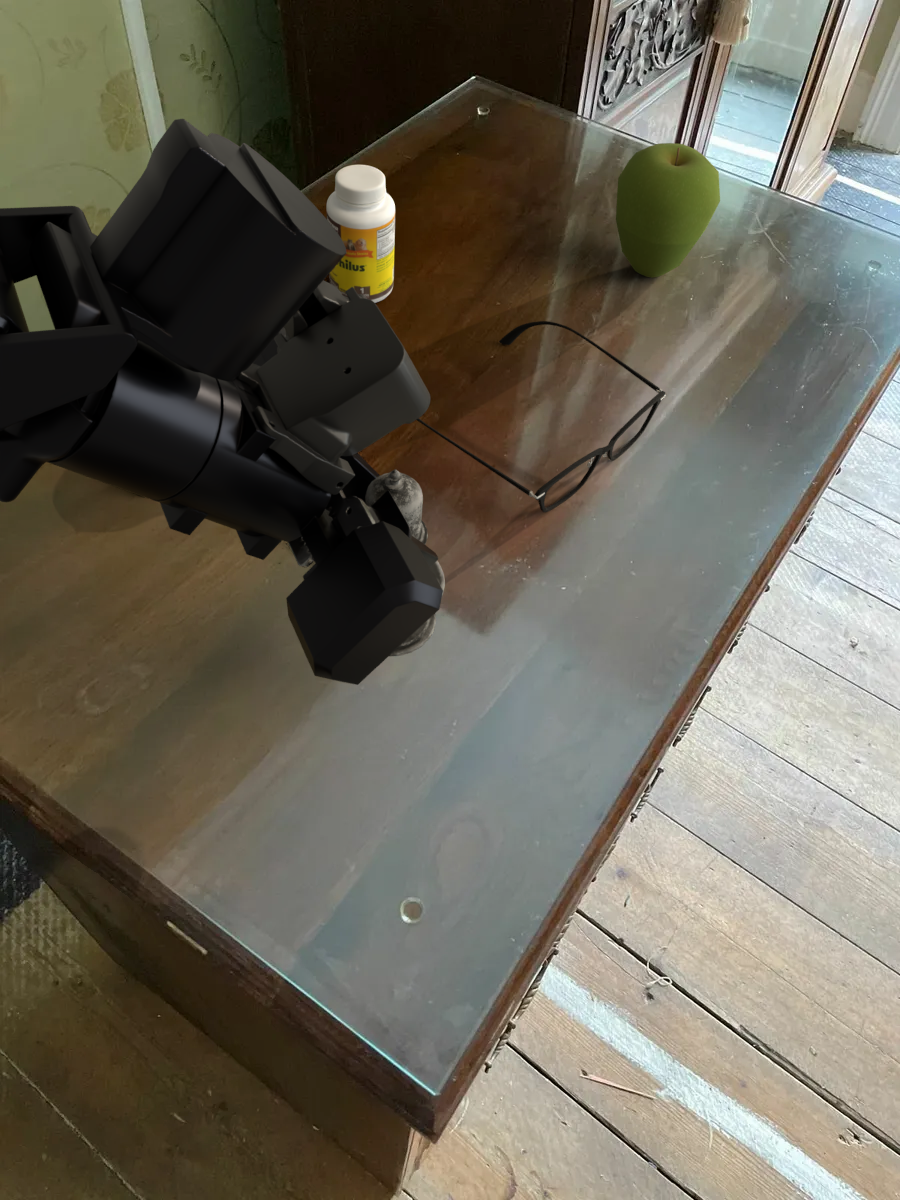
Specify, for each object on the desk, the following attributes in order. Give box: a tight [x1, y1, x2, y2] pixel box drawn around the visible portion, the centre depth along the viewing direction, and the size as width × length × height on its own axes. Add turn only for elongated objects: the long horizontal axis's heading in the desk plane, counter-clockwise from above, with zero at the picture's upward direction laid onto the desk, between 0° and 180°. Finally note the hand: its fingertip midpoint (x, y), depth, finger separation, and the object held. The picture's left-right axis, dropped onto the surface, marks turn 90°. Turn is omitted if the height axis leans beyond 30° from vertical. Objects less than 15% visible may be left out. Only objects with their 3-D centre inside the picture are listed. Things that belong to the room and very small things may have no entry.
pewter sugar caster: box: [365, 468, 446, 657], centre depth 50 cm, size 6×6×12 cm
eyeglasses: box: [416, 320, 667, 513], centre depth 72 cm, size 16×16×4 cm
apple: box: [615, 142, 721, 279], centre depth 83 cm, size 9×8×12 cm
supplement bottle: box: [325, 164, 396, 304], centre depth 79 cm, size 6×6×10 cm
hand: (416, 537), depth 50 cm, fingers closed on pewter sugar caster, 3 cm apart
